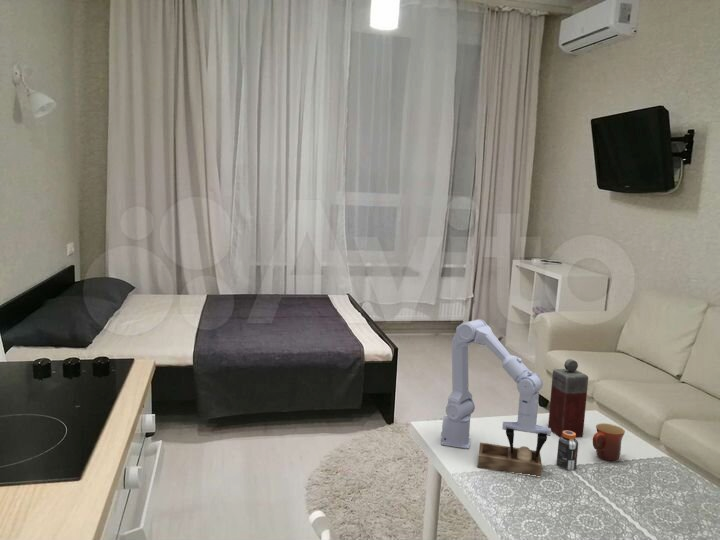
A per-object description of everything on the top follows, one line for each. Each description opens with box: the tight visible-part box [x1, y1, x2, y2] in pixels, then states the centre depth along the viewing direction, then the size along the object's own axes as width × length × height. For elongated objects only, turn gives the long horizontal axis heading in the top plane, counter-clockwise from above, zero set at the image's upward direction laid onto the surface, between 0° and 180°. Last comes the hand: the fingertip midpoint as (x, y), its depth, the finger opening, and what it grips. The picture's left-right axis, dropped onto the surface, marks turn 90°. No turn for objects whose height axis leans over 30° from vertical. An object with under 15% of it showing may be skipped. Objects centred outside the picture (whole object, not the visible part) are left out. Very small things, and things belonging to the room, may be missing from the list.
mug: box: [592, 422, 626, 463], centre depth 176 cm, size 12×9×10 cm
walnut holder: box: [477, 442, 543, 477], centre depth 169 cm, size 19×10×4 cm, turn 75°
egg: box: [517, 445, 532, 462], centre depth 168 cm, size 4×4×6 cm
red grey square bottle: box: [547, 358, 589, 439], centre depth 196 cm, size 9×11×28 cm
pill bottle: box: [556, 430, 579, 471], centre depth 170 cm, size 6×6×11 cm
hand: (524, 453), depth 167 cm, fingers open, 7 cm apart
